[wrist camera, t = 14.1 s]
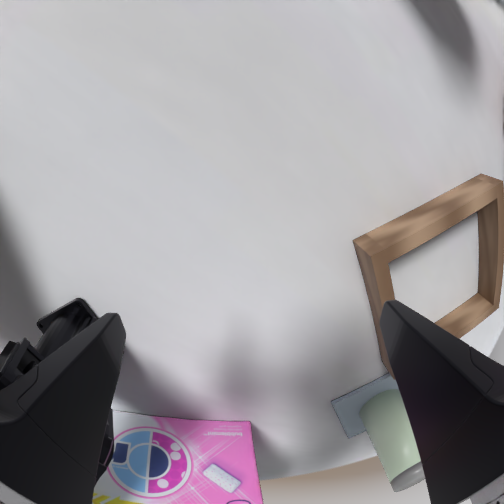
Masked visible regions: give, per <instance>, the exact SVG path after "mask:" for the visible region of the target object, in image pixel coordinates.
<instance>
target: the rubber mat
mask: <svg viewBox="0 0 504 504" xmlns="http://www.w3.org/2000/svg"><path fill="white" fill-rule="evenodd" d="M390 389H398V390H399V388H398V385H397V382H396V380H394V379H393V378H392V376H391V374H390V373H388V374H386V375H384V376H382V377H380V378H378V379H377V380H375V381H373V382H371V383H369V384H367V385H365V386H363V387H361V388H359V389H357V390H355V391H353V392H351V393H348V394H346V395H344V396H342V397H340V398H338V399H335V400H333V401H331V403H332V405H333V407H334V409H335V411H336V413H337V416H338V418H339V420H340V422H341V424H342V426H343V428H344V430H345V432H346V434H347V437H348V439H349V438H351V437H353V436H356V435H358V434H360V433H362V432H364V431H366V428H365V426H364V424H363V422H362V420H361V418H360V415H359V413H360V410H361V408H362V407H363V405H364V404H365V403H366V402H367V401H369V400H370V399H371V398H373V397H374V396H376V395H377V394H379V393H381V392H384V391H386V390H390Z"/></svg>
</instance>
